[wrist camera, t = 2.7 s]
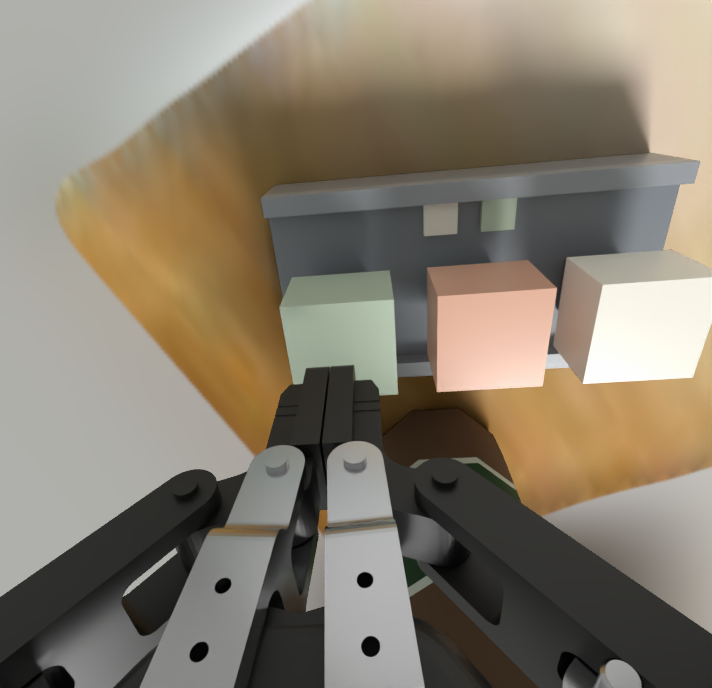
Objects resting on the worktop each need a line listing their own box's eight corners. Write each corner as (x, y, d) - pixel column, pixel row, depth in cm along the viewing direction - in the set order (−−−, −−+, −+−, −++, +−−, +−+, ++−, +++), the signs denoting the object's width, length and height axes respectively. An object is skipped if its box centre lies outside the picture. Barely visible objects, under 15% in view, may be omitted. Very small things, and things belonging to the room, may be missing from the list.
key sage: (389, 270, 18) (393, 299, 15) (393, 355, 20) (398, 394, 17) (291, 277, 18) (279, 307, 15) (305, 360, 20) (296, 400, 17)
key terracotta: (528, 260, 17) (557, 287, 15) (518, 347, 19) (542, 386, 17) (426, 267, 18) (437, 296, 15) (427, 353, 19) (436, 392, 17)
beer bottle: (464, 503, 30) (685, 1392, 9) (359, 477, 29) (343, 1410, 8) (517, 420, 27) (1068, 1563, 6) (399, 387, 26) (550, 1630, 5)
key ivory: (671, 249, 17) (727, 276, 14) (646, 339, 19) (692, 377, 16) (566, 257, 17) (602, 284, 15) (552, 345, 19) (582, 383, 16)
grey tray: (650, 152, 19) (733, 166, 15) (610, 331, 24) (665, 382, 19) (275, 184, 20) (250, 207, 16) (302, 351, 25) (289, 404, 20)
